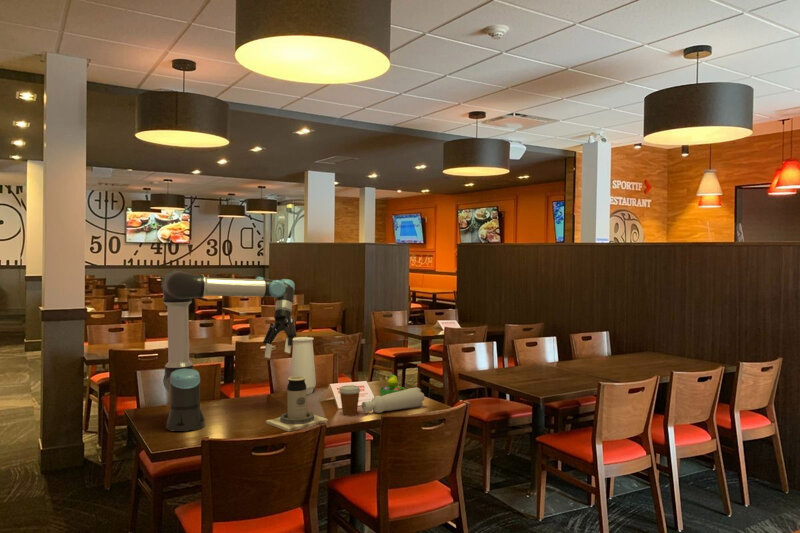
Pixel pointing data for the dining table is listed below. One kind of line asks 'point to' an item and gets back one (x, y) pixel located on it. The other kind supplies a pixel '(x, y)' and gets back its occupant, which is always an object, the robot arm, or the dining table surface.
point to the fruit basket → (391, 386)
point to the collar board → (294, 427)
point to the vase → (304, 361)
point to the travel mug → (296, 397)
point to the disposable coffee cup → (349, 399)
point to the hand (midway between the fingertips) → (277, 355)
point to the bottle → (395, 401)
